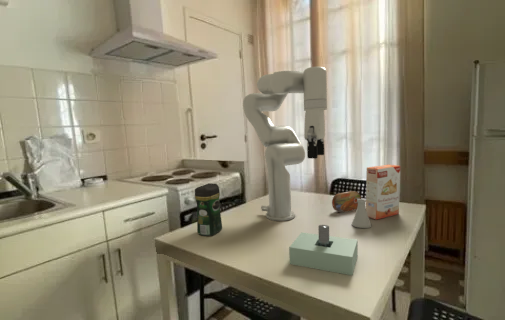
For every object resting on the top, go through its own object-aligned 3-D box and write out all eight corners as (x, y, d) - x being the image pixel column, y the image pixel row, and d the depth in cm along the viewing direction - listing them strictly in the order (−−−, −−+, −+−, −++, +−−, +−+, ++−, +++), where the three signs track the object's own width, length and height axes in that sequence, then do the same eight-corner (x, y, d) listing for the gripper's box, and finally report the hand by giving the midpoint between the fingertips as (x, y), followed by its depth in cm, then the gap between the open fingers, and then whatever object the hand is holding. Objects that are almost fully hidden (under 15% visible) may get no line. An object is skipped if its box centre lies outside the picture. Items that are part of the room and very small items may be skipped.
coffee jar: (208, 226, 115) (205, 181, 113) (225, 228, 111) (222, 182, 109) (193, 235, 106) (190, 186, 104) (211, 238, 103) (208, 187, 101)
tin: (335, 214, 124) (335, 195, 123) (330, 212, 127) (330, 193, 126) (361, 208, 130) (361, 190, 129) (356, 207, 133) (356, 189, 132)
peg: (317, 261, 82) (317, 227, 81) (320, 256, 85) (319, 224, 83) (328, 262, 81) (328, 228, 79) (330, 258, 83) (330, 225, 82)
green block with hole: (289, 263, 81) (289, 247, 80) (301, 247, 92) (301, 232, 91) (352, 275, 73) (352, 257, 73) (357, 255, 84) (357, 239, 84)
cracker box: (377, 220, 113) (377, 168, 111) (365, 216, 118) (365, 167, 116) (400, 214, 119) (401, 165, 117) (387, 210, 125) (388, 163, 122)
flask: (373, 229, 105) (373, 202, 103) (353, 228, 106) (353, 202, 105) (369, 222, 112) (369, 197, 110) (350, 222, 113) (349, 197, 112)
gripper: (311, 107, 104) (311, 153, 106) (296, 105, 89) (297, 159, 91) (331, 106, 101) (332, 154, 103) (320, 103, 86) (321, 160, 88)
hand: (316, 156), depth 97 cm, fingers open, 9 cm apart
